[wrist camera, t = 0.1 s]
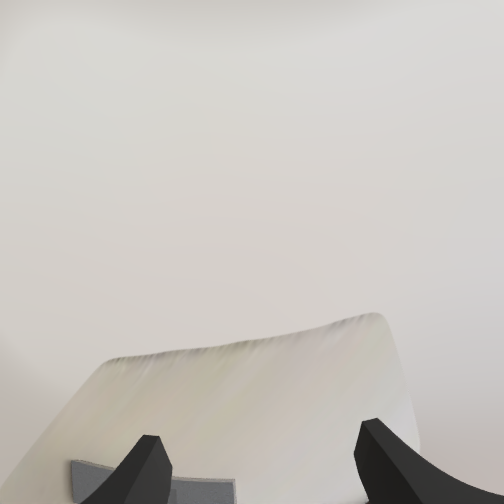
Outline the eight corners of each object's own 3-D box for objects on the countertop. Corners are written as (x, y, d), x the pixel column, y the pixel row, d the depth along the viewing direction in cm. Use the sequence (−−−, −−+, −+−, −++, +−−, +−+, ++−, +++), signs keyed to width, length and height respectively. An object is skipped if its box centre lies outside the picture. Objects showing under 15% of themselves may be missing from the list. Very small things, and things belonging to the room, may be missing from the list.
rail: (237, 523, 27) (236, 528, 25) (83, 500, 27) (73, 502, 24) (234, 479, 31) (233, 482, 29) (81, 460, 31) (71, 460, 29)
